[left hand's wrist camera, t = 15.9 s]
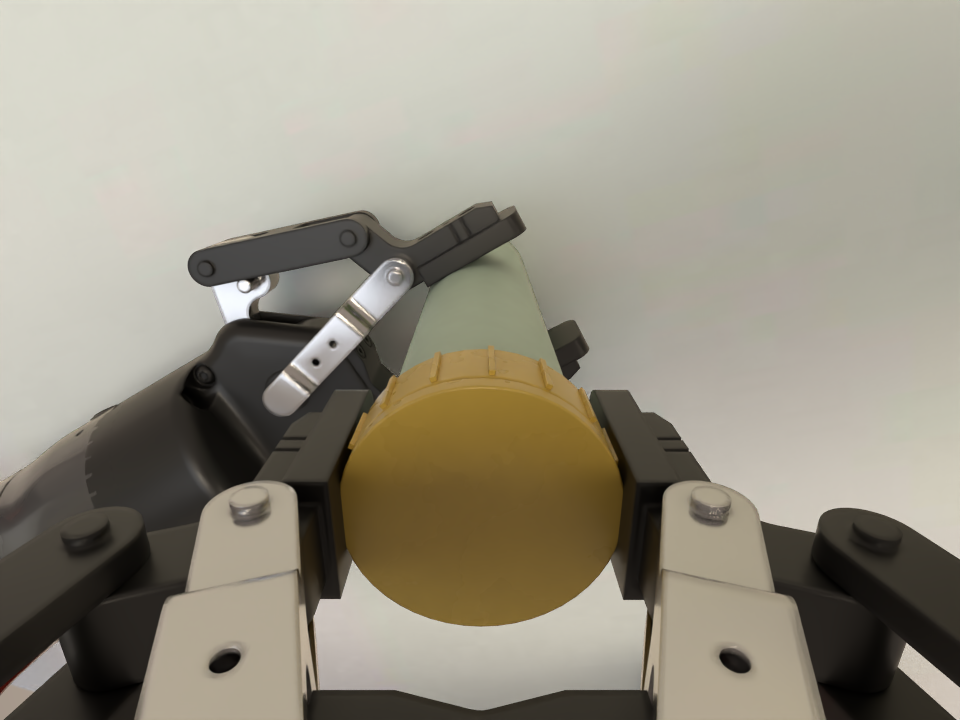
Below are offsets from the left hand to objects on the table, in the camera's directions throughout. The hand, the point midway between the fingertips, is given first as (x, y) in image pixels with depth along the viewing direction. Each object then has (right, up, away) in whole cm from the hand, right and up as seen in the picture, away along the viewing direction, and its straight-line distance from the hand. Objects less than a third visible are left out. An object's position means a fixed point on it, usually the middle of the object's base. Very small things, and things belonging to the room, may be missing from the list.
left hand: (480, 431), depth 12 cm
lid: (0, -1, -2) cm, 3 cm away
